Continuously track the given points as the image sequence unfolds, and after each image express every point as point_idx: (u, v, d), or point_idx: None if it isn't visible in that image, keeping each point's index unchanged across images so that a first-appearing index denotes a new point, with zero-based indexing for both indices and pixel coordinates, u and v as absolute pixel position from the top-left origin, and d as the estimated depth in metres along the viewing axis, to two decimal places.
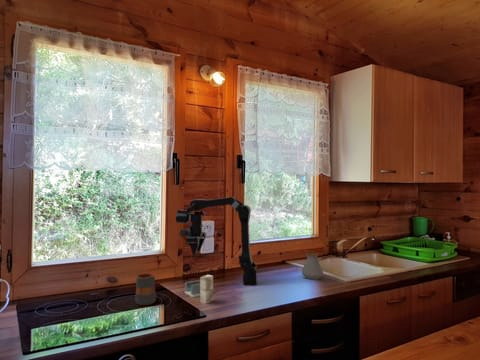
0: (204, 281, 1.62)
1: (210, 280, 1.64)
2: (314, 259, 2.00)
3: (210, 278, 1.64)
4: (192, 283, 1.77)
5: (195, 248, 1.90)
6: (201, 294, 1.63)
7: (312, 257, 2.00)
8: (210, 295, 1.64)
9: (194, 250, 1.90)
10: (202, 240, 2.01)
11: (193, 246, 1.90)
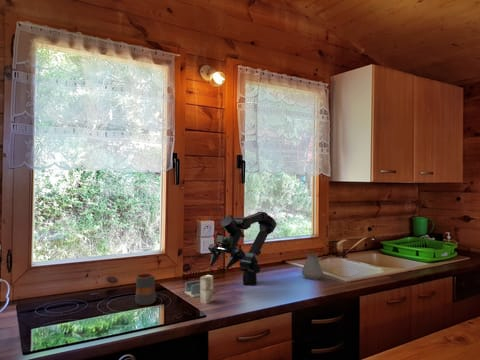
0: (204, 281, 1.62)
1: (210, 280, 1.64)
2: (314, 259, 2.00)
3: (210, 278, 1.64)
4: (192, 283, 1.77)
5: (233, 263, 1.70)
6: (201, 294, 1.63)
7: (312, 257, 2.00)
8: (210, 295, 1.64)
9: (231, 264, 1.70)
10: (217, 257, 1.79)
11: (232, 259, 1.70)
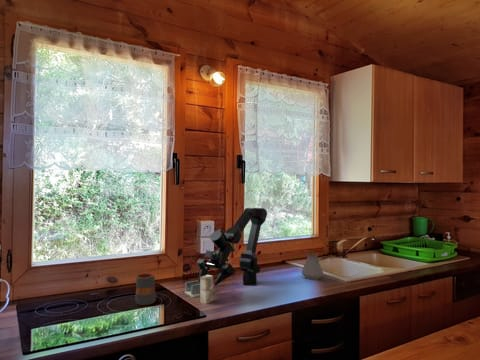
0: (204, 281, 1.62)
1: (210, 280, 1.64)
2: (314, 259, 2.00)
3: (210, 278, 1.64)
4: (192, 283, 1.77)
5: (222, 279, 1.64)
6: (201, 294, 1.63)
7: (312, 257, 2.00)
8: (210, 295, 1.64)
9: (219, 280, 1.63)
10: (206, 272, 1.72)
11: (221, 276, 1.64)
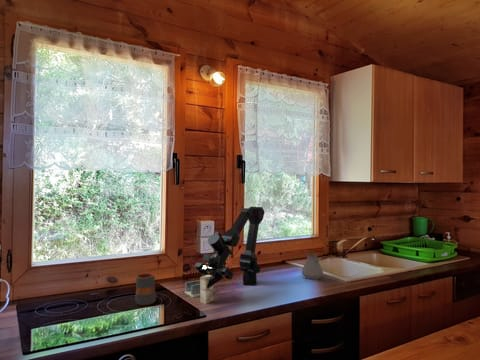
0: (204, 281, 1.62)
1: None
2: (314, 259, 2.00)
3: (210, 278, 1.64)
4: (192, 283, 1.77)
5: (214, 282, 1.65)
6: (201, 294, 1.63)
7: (312, 257, 2.00)
8: (210, 295, 1.64)
9: (212, 283, 1.64)
10: None
11: (214, 278, 1.64)
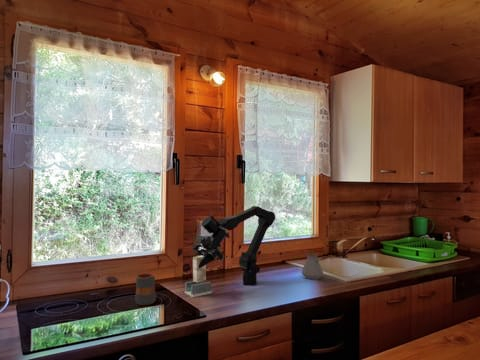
0: (196, 261, 1.71)
1: None
2: (314, 259, 2.00)
3: (202, 258, 1.73)
4: (192, 283, 1.77)
5: (206, 262, 1.73)
6: (193, 273, 1.72)
7: (312, 257, 2.00)
8: (202, 275, 1.73)
9: (204, 263, 1.72)
10: None
11: (206, 259, 1.72)
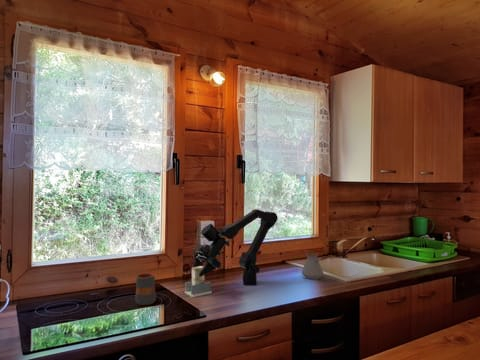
0: (194, 271, 1.74)
1: None
2: (314, 259, 2.00)
3: (201, 269, 1.76)
4: None
5: (207, 271, 1.74)
6: (192, 283, 1.76)
7: (312, 257, 2.00)
8: None
9: (205, 272, 1.73)
10: (201, 264, 1.83)
11: (206, 268, 1.74)
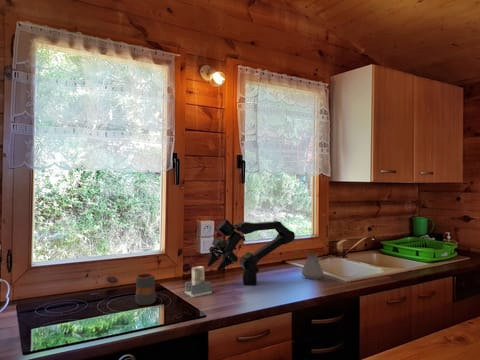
0: (194, 271, 1.74)
1: (201, 271, 1.76)
2: (314, 259, 2.00)
3: (201, 269, 1.76)
4: None
5: (225, 265, 1.79)
6: (192, 283, 1.76)
7: (312, 257, 2.00)
8: None
9: (223, 266, 1.78)
10: (217, 258, 1.89)
11: (224, 262, 1.78)
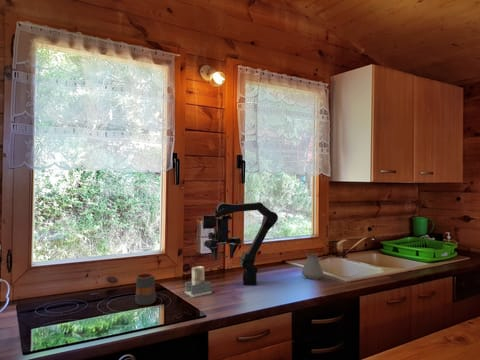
0: (194, 271, 1.74)
1: (201, 271, 1.76)
2: (314, 259, 2.00)
3: (201, 269, 1.76)
4: None
5: (214, 253, 1.85)
6: (192, 283, 1.76)
7: (312, 257, 2.00)
8: None
9: (214, 255, 1.85)
10: (233, 246, 1.90)
11: (213, 251, 1.86)
